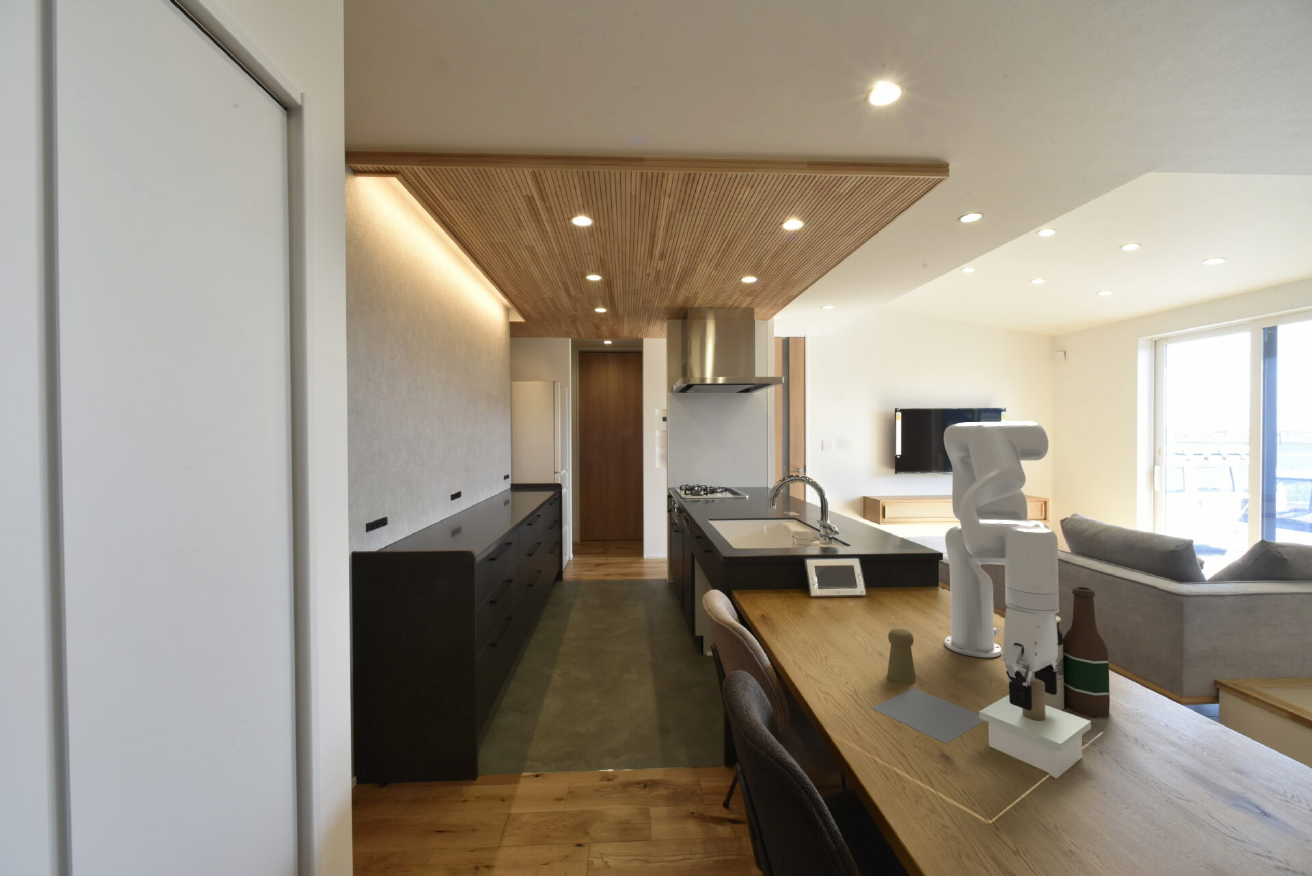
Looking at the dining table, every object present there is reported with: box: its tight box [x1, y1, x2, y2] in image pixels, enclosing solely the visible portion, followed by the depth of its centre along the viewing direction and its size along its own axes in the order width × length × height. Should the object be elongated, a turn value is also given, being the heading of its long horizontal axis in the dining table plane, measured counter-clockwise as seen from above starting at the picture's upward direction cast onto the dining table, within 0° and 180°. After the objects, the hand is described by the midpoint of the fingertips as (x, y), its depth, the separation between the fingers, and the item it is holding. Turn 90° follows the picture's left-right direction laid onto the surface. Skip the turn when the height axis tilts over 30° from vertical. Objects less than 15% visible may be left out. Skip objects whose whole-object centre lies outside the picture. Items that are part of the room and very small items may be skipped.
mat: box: [870, 687, 985, 744], centre depth 102 cm, size 15×15×1 cm
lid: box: [978, 677, 1092, 752], centre depth 90 cm, size 12×12×7 cm
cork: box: [886, 628, 917, 685], centre depth 118 cm, size 6×6×11 cm
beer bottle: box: [1063, 586, 1111, 719], centre depth 104 cm, size 8×8×24 cm
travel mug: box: [1018, 615, 1065, 711], centre depth 106 cm, size 8×8×18 cm
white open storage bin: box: [987, 721, 1083, 779], centre depth 90 cm, size 10×10×5 cm
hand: (1033, 698), depth 90 cm, fingers open, 9 cm apart
